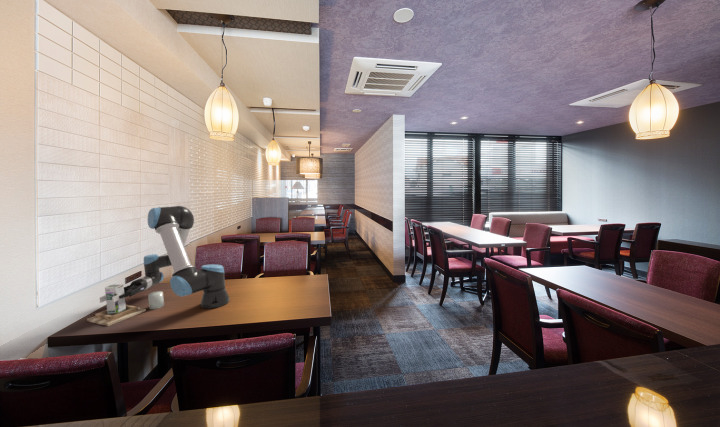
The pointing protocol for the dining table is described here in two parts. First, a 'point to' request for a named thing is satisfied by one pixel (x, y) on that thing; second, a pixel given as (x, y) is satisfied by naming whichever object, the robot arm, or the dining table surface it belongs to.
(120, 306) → the syrup box
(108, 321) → the wooden square frame
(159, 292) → the white rounded cylinder
